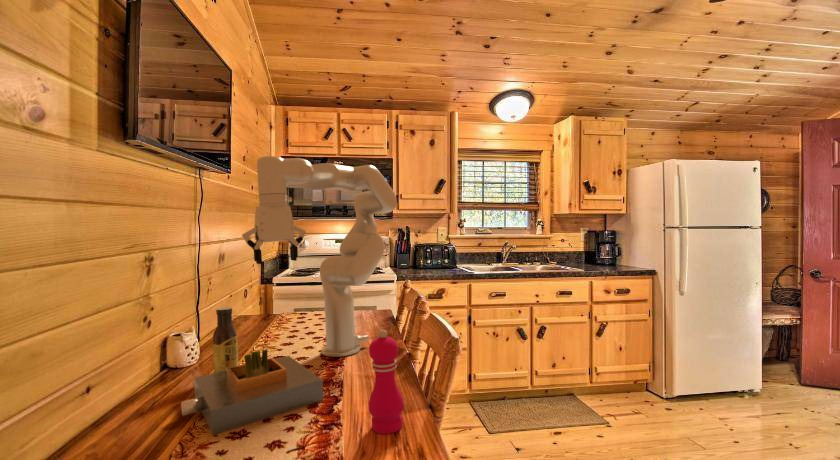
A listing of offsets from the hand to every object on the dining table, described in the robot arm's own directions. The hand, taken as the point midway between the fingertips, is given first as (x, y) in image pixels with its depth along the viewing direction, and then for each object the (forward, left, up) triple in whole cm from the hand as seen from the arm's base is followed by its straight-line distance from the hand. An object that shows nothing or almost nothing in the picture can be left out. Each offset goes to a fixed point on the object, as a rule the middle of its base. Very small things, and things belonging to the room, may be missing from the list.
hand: (276, 261), depth 115 cm
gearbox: (+12, +12, -32) cm, 36 cm away
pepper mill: (-7, +45, -32) cm, 56 cm away
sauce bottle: (+13, -8, -32) cm, 36 cm away
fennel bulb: (+10, +12, -32) cm, 36 cm away
